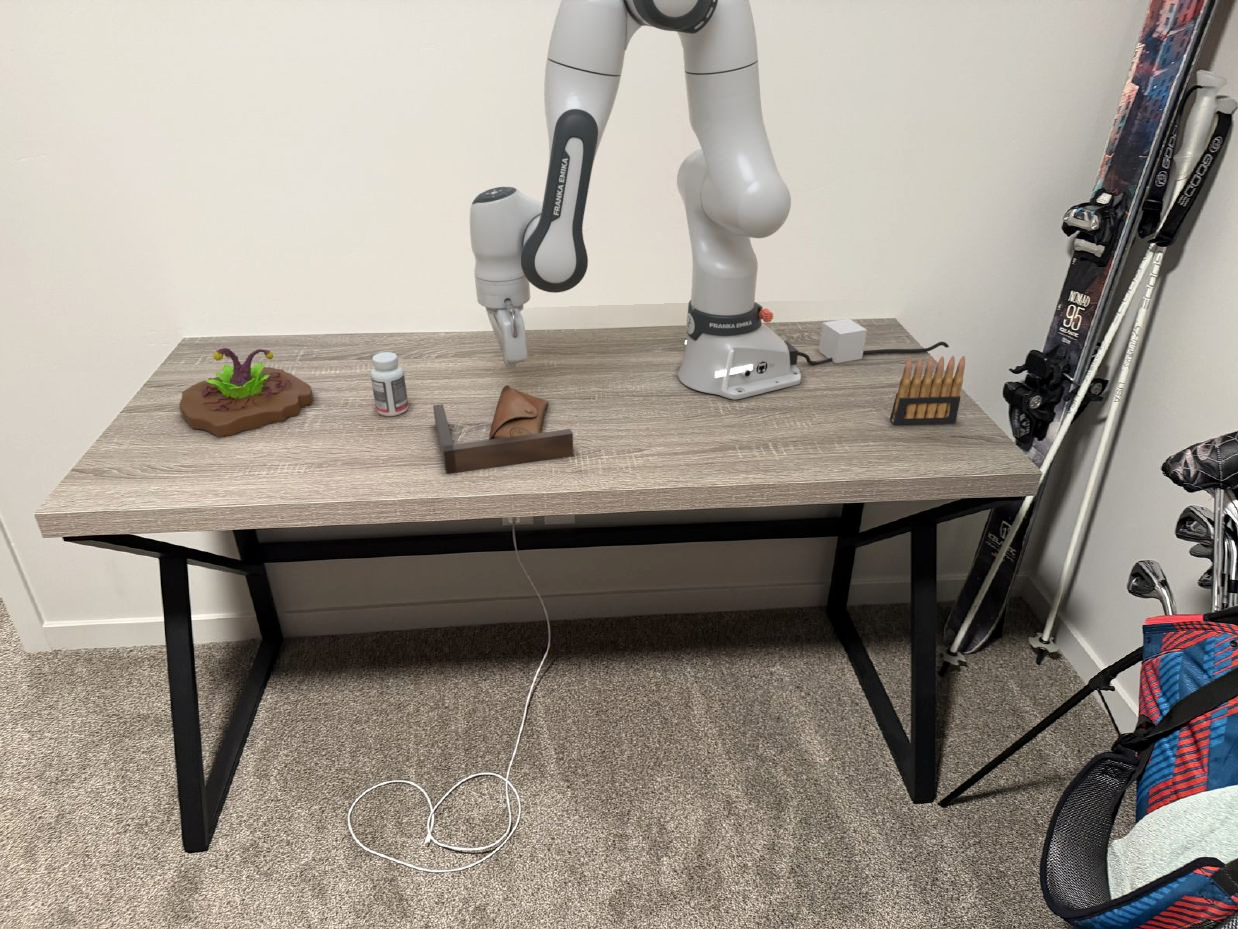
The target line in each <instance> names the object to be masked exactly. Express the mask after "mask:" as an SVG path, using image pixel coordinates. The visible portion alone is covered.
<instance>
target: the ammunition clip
mask: <svg viewBox="0 0 1238 929" xmlns="http://www.w3.org/2000/svg"><path fill="white" fill-rule="evenodd" d="M934 361H935V359H934V357H933V356H930V357H929V359H928V361H927V363H926V366H925V370H924V373H923V368H924V359H923V356H920V357H919V358H918V360H917V362H916V364H915V367H914V371H913V359H912V356H910V357H908V359H907V361H906V363H905V365H904V368H903V372H902V376H901V379H900V381H899V384H898V389H897V393H896V394H895V398H894V402H893V405H892V408H891V409H892V410H891V413H890V418H889V421H890V423H891V424H892V426H894V427H895V426H928V425H929V426H932V425H955V424H956V423H957V418H958V414H959V407H960V403H961V398H962V397H961V391H962V387H963V383H964V374H965V367H966V356H965V355H962V356H961V358H960V359H959V361H958V364H957V366H956V370H955V365H956V360H955V356H954V355H952V356H951V357H950V359H949V360H948V363H947V365H946V368H945V357H944V356H943V355H942V356H940V358H939V360H938V361H937V364H936V367H935V366H934V364H935V362H934ZM934 367H935V370H934ZM944 370H945V371H944ZM912 371H913V374H912ZM933 372H934V374H933ZM954 372H955V373H954ZM922 375H923V376H922Z"/></svg>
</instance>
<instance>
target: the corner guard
mask: <svg viewBox="0 0 1238 929" xmlns="http://www.w3.org/2000/svg"><path fill="white" fill-rule="evenodd" d="M432 407H433V416H434V417H433V418H434V425H435V426H434V427H435V430H436V434H437V439H438V443H439V449H440V452H441V457H442V462H443V465H444V470H445V474H446V475H449V474H457V473H462V472H470V471H476V470H483V469H491V468H499V467H505V466H513V465H520V464H526V463H527V464H528V463H534V462H540V461H546V460H555V459H562V458H569V457H573V456H574V433H573V431H572V429H571V428H566V429H560V430H559V429H558V430H551V431H544V432H541V433H536V434H528V435H521V436H513V437H506V438H499V439H491V440H489V439H484V440H477V441H471V442H469V441H468V442H462V443H455V444H454V442H453V439H452V438H453V437H452V435H451V430H450V426H449V422H448V418H447V414H446V411H445V407H444V404H435V405H434V404H433V406H432Z"/></svg>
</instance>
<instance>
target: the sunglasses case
mask: <svg viewBox="0 0 1238 929" xmlns="http://www.w3.org/2000/svg"><path fill="white" fill-rule="evenodd" d="M548 405H549V400H546V399H542V398H539V397H536V396H534V395H531V394H528V393H526V392H522V391H520V390H517V389H515V388H513V387H511V385H509V384H506V385H504V386H503V388H502V389H501V392H500V394H499V397H498V400H497V404H496V407H495V411H494V415H493V419H492V422H491V427H490V431H489V434H488V435H489V436H488V440H491V439H499V438H506V437H513V436H521V435H528V434H536V433H542V427H543V423H544V420H545V419H544V418H545V413H546V412H547V409H548Z"/></svg>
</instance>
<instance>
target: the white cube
mask: <svg viewBox="0 0 1238 929" xmlns="http://www.w3.org/2000/svg"><path fill="white" fill-rule="evenodd" d="M821 324H822V325H821V330H820V331H821V332H820V338H819V343H818V344H819V346H818V352H819V353H821V354H822V355H823V356H824V357H826V358H827V359H829V358H832V359H833V360H832V361H831V362H833V363H834V364H839V363H844V362H845V363H846V362H852V361H856V360H862V359H863V356H864V355H863V351H865V345H866V338H867V332H868V329H867V328H865V327H863V325H860V324H858V322H855V321H854V320H852V319H850V318H843V319H836V320H831V321H824V322H822V323H821Z"/></svg>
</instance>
